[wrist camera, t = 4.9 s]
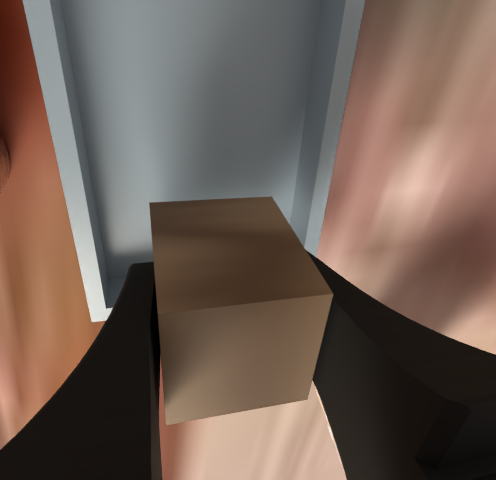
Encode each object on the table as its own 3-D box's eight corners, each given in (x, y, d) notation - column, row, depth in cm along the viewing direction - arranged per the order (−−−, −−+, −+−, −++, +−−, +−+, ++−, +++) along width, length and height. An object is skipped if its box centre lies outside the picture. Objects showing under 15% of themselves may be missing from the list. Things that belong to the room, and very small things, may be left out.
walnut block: (156, 299, 14) (166, 424, 10) (148, 202, 12) (158, 314, 8) (261, 288, 15) (307, 399, 11) (271, 196, 13) (333, 293, 9)
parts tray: (96, 283, 17) (91, 322, 15) (10, -166, 10) (-21, -201, 8) (291, 263, 19) (308, 295, 17) (348, -117, 12) (391, -136, 10)
